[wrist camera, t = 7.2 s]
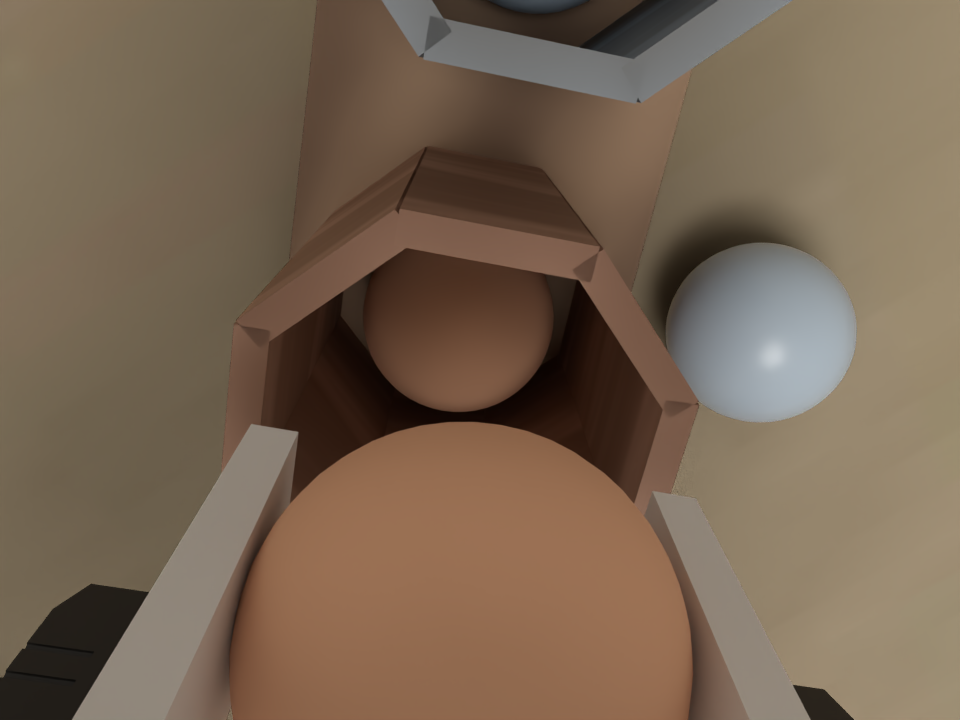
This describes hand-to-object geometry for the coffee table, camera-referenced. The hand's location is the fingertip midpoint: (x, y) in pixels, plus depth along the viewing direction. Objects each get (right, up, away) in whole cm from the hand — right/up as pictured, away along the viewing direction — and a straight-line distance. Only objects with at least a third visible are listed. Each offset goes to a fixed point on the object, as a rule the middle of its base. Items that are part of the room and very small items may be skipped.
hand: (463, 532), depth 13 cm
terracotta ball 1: (0, +5, +14) cm, 15 cm away
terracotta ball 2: (0, 0, 0) cm, 0 cm away
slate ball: (+10, +5, +16) cm, 19 cm away
